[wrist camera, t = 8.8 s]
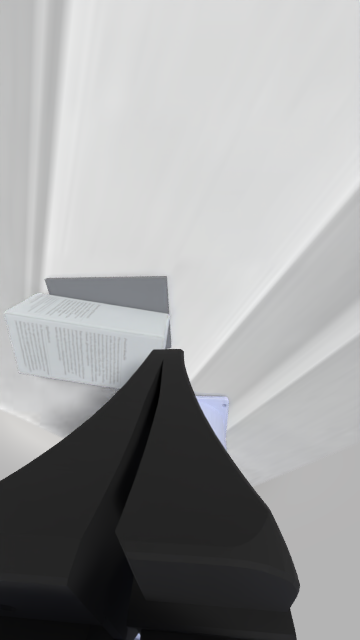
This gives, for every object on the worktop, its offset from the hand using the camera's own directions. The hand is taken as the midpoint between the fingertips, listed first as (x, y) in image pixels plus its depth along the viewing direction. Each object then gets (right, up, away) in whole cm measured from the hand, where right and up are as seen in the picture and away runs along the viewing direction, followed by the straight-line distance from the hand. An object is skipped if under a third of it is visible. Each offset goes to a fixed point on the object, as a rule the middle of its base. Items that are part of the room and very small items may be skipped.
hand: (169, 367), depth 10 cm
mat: (-6, +3, +11) cm, 13 cm away
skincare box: (-13, +1, +9) cm, 16 cm away
